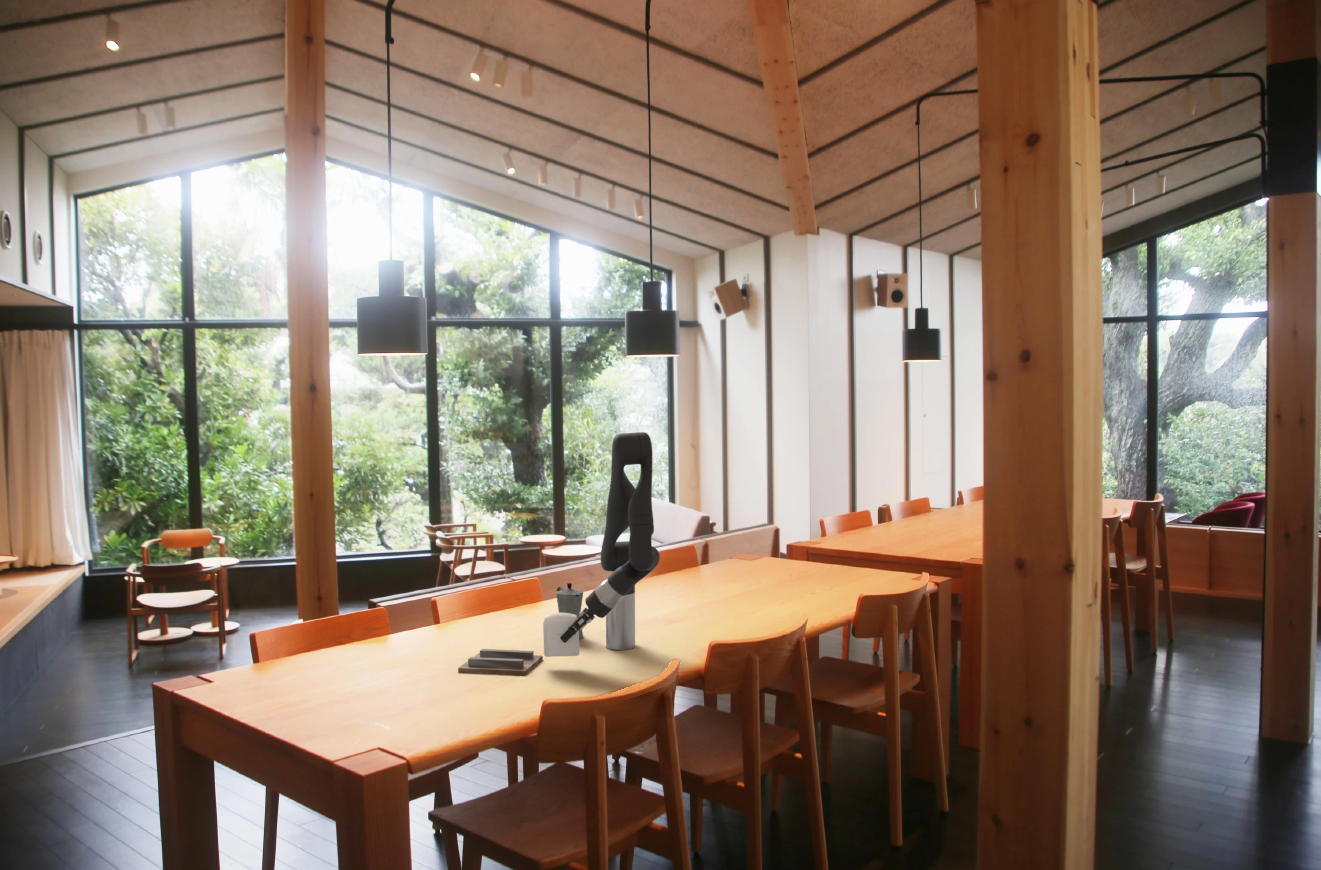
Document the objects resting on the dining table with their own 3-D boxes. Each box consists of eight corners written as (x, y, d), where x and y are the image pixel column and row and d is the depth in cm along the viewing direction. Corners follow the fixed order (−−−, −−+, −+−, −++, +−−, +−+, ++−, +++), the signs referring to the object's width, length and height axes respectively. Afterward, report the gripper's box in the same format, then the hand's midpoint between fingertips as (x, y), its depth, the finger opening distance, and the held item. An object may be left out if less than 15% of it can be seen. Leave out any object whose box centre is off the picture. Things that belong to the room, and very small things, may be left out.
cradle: (479, 656, 262) (479, 646, 262) (542, 659, 259) (542, 648, 259) (458, 672, 246) (458, 660, 246) (525, 675, 243) (525, 663, 243)
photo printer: (542, 657, 248) (542, 615, 247) (544, 653, 252) (544, 611, 251) (578, 657, 248) (577, 614, 247) (580, 652, 252) (579, 610, 251)
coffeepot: (591, 639, 283) (591, 584, 282) (566, 643, 277) (565, 587, 277) (570, 629, 296) (569, 577, 295) (545, 633, 290) (544, 580, 290)
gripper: (601, 583, 255) (562, 622, 257) (590, 593, 240) (548, 635, 243) (619, 601, 254) (580, 640, 256) (608, 613, 240) (567, 654, 242)
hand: (565, 637), depth 250 cm, fingers closed on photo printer, 4 cm apart
